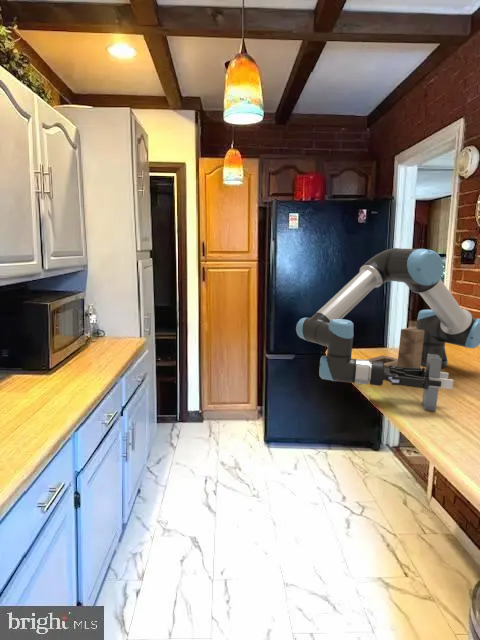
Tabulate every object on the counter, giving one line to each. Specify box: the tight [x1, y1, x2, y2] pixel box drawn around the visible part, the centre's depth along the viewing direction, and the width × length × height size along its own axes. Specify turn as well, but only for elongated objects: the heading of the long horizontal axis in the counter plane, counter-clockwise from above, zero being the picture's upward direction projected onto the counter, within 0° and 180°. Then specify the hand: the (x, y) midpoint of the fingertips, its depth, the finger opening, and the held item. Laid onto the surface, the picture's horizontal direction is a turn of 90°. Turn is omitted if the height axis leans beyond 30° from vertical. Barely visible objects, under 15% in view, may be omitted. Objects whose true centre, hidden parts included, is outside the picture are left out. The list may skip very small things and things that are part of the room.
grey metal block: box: [421, 354, 442, 412], centre depth 133 cm, size 4×6×16 cm, turn 165°
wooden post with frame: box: [366, 327, 425, 368], centre depth 168 cm, size 18×14×18 cm
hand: (450, 380), depth 131 cm, fingers open, 6 cm apart
